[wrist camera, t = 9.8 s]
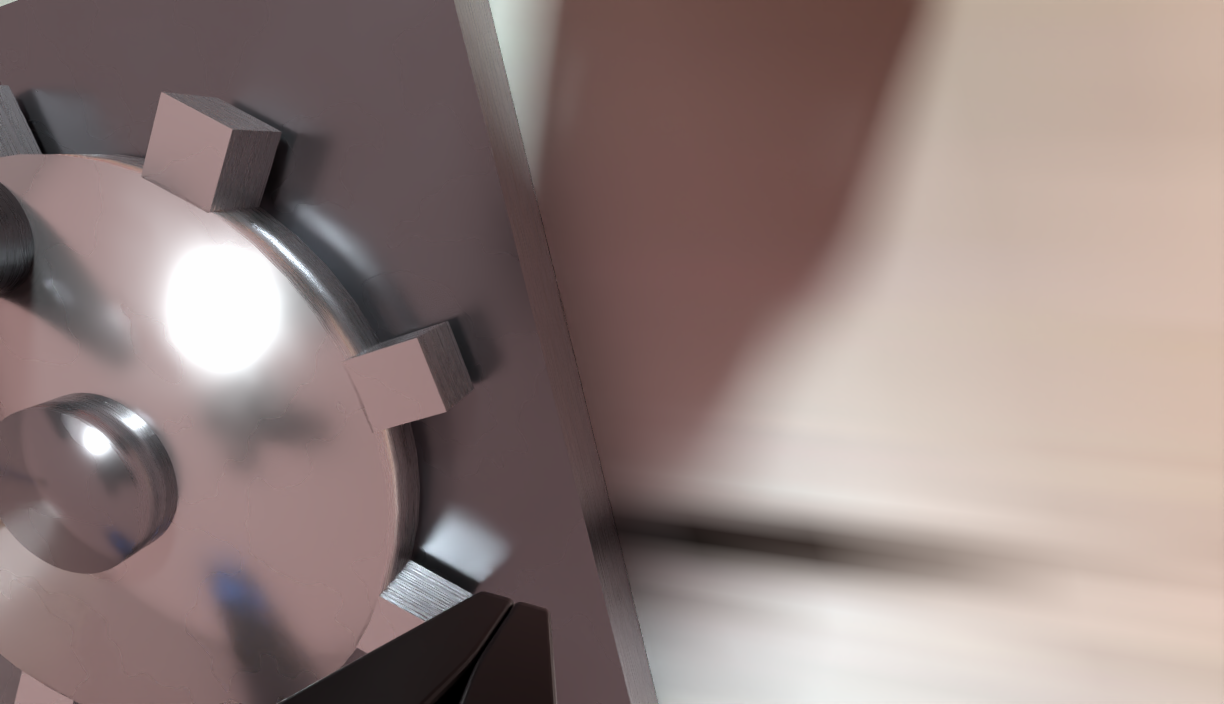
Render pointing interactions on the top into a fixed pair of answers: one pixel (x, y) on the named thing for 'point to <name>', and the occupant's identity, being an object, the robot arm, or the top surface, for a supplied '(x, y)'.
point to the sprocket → (196, 429)
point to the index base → (390, 258)
